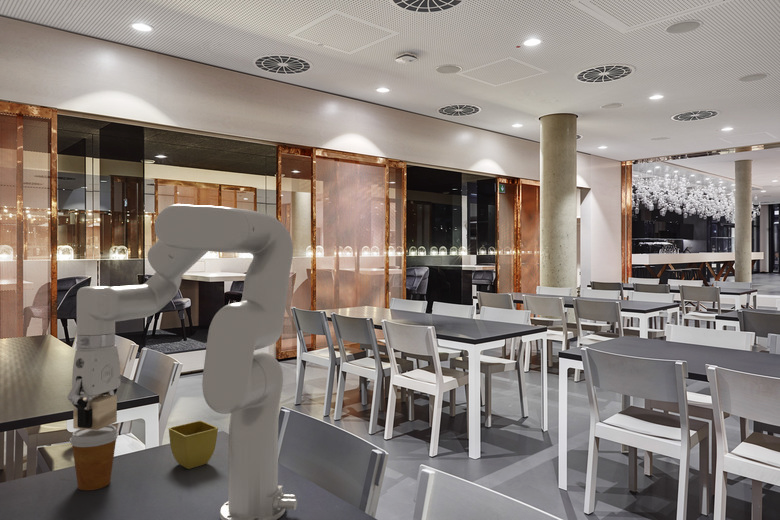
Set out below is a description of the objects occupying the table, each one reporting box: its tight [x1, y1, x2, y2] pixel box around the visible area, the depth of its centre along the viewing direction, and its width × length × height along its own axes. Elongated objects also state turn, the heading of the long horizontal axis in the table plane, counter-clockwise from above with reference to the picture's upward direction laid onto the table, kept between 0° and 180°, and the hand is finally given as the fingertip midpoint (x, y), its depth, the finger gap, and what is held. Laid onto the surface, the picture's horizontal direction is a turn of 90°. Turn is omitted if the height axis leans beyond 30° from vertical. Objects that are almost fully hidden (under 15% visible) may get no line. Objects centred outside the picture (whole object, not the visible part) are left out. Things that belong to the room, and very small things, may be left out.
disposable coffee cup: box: [69, 424, 119, 491], centre depth 119 cm, size 10×10×12 cm
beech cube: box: [72, 394, 118, 430], centre depth 119 cm, size 6×6×6 cm
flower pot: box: [168, 420, 219, 470], centre depth 131 cm, size 9×9×9 cm
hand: (95, 422), depth 119 cm, fingers closed on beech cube, 5 cm apart
